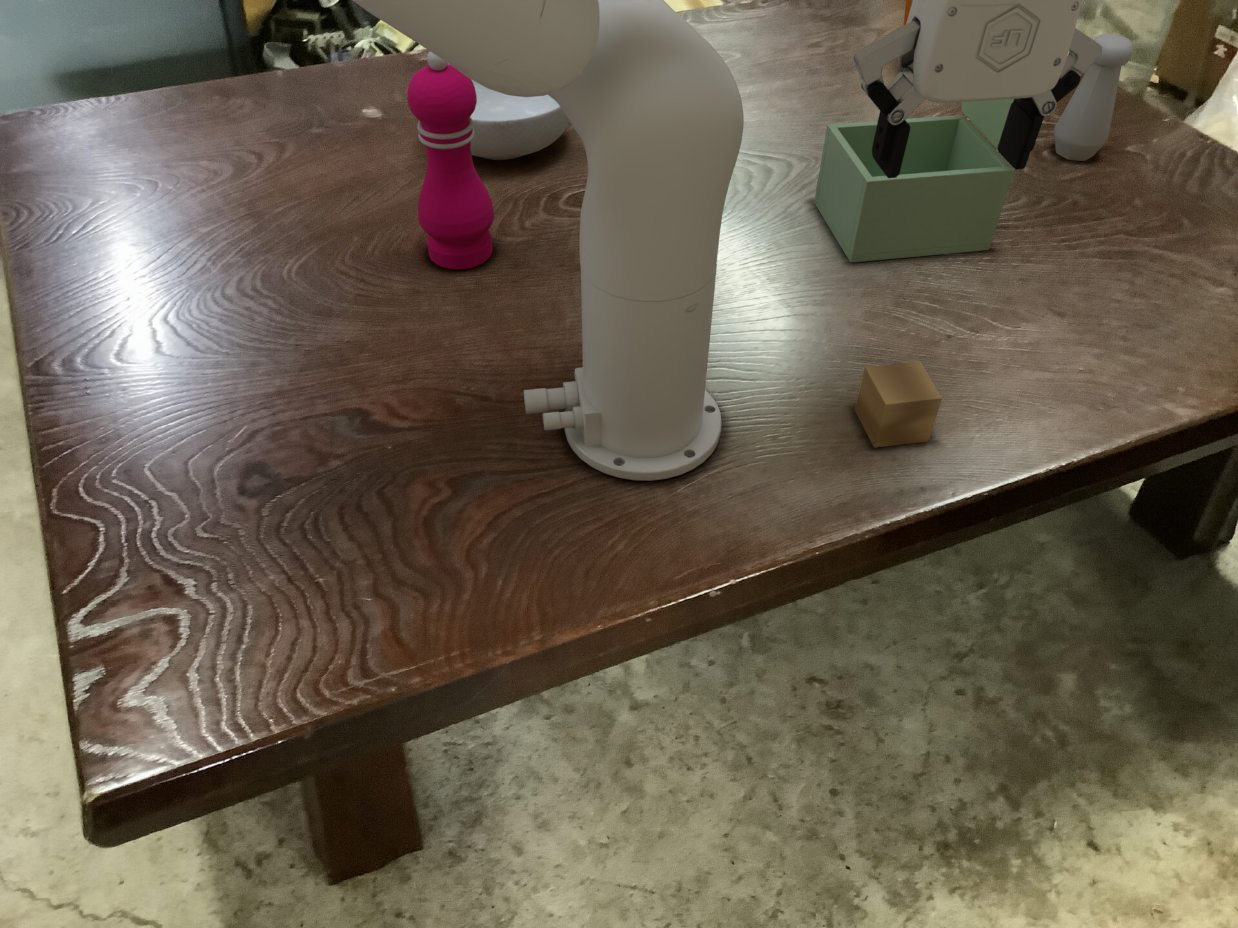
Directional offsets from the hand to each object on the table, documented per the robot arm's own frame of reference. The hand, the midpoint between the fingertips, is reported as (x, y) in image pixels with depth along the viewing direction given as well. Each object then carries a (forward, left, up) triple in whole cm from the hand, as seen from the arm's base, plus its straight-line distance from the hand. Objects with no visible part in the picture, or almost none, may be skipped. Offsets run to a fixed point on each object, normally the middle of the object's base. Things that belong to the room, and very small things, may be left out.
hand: (948, 164), depth 71 cm
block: (-3, -7, -19) cm, 21 cm away
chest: (+9, +22, -19) cm, 31 cm away
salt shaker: (+35, +34, -19) cm, 53 cm away
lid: (+15, +22, -2) cm, 27 cm away
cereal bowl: (-30, +46, -19) cm, 58 cm away
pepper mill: (-36, +24, -19) cm, 47 cm away
